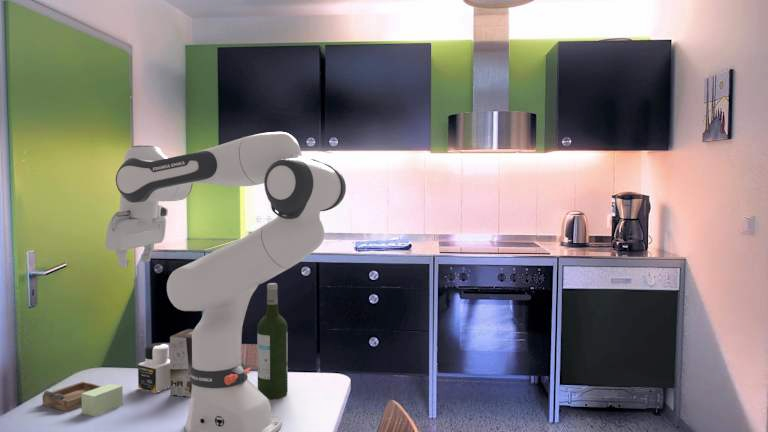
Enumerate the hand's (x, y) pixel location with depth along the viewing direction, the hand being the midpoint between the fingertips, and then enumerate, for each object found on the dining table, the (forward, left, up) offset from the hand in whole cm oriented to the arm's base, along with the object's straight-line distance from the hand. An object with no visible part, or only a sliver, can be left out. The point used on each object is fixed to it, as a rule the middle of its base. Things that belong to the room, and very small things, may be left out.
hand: (134, 264), depth 138 cm
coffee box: (-5, -13, -36) cm, 39 cm away
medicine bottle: (+5, -11, -36) cm, 38 cm away
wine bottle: (-27, -21, -36) cm, 50 cm away
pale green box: (+5, +6, -36) cm, 37 cm away
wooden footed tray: (+16, +5, -36) cm, 40 cm away
